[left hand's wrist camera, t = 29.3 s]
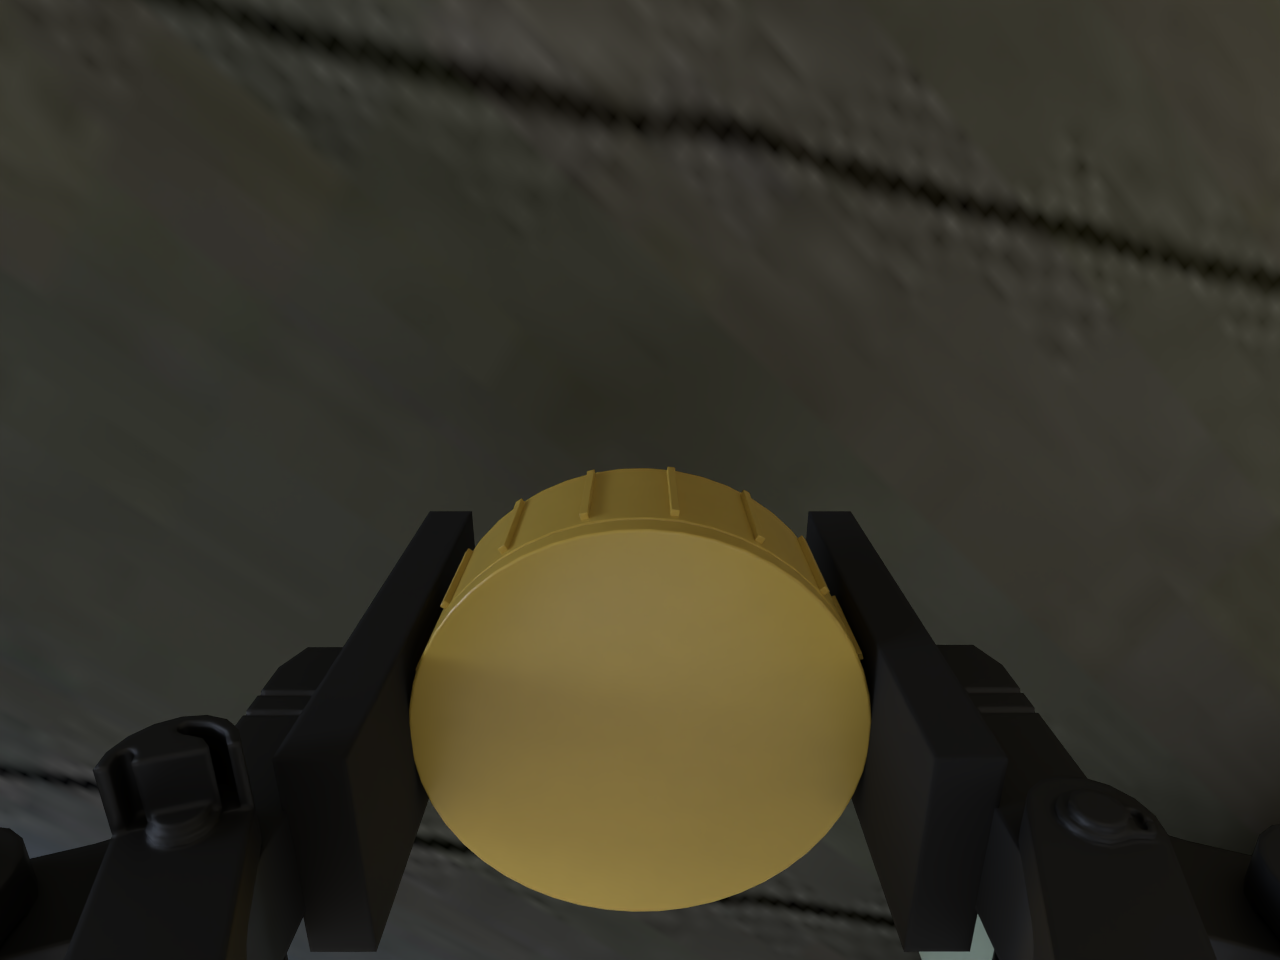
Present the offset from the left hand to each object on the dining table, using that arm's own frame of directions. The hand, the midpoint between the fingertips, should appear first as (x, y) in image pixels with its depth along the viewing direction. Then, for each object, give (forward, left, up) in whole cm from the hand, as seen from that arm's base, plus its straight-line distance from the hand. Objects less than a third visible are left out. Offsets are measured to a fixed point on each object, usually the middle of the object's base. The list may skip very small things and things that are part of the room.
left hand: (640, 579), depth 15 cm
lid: (0, 0, +4) cm, 4 cm away
